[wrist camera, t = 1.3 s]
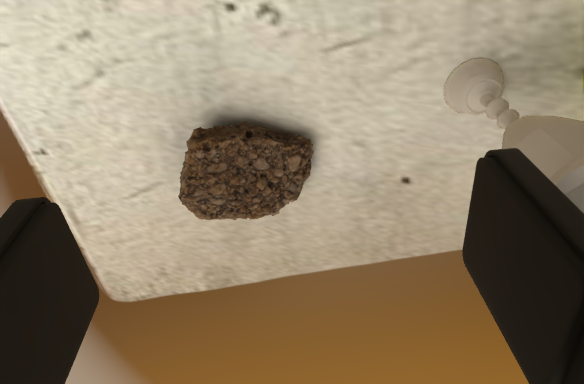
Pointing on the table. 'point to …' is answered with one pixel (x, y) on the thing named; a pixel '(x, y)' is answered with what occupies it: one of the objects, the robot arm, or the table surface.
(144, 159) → the table surface
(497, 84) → the chalice
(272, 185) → the concrete sample
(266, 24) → the table surface
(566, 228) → the robot arm
